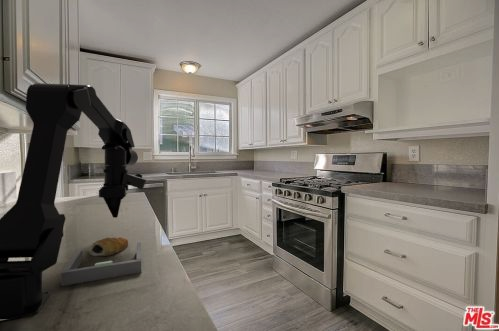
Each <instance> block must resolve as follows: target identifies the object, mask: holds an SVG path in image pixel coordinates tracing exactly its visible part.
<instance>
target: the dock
mask: <svg viewBox="0 0 499 331" xmlns="http://www.w3.org/2000/svg"><path fill="white" fill-rule="evenodd" d="M135 257H136V259H134V260H133V259H132V260H127V261H121V262H120V261H119V262H114V261H113V260H108V261H99V262H96V263H95V264H94V265H92V266H85V267H80V268H79V266H80V265H81V263H82V261H83V249H79V250H76V252H75V253H74V254H73V255H72V257H71V259H70V260H69V261H68V263H67V264H66V265H65V266H64V268H63V269H62V271H61V272H60V287H64V286H68V285H74V284H75V285H76V284H81V283H86V282H92V281H97V280H98V281H99V280H105V279H111V278H115V277H117V278H118V277H121V276H128V275H134V274H138V273H142V242H137V243H136V256H135Z"/></svg>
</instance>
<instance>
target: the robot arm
mask: <svg viewBox="0 0 499 331" xmlns="http://www.w3.org/2000/svg"><path fill="white" fill-rule="evenodd" d="M25 111H26V112H27V115H28V116H29V118H30V119H31V122H32V123H33V124H32V125H33V127H32V130H31V134H30V139H29V144H28V149H27V153H26V156H25V157H26V158H25V162H24V166H23V167H24V168H23V171H22V175H21V180H20V185H19V189H18V194H17V198H16V202H15V203H14V204H13V205H12V206H11V207H10V209H8V211H7V212H6V213H5V214H4V215H3V216H2V217H0V319H10V320H14V319H19V318H23V317H29V316H33V315H36V314H38V313H39V311H40V309H41V308H43V305H44V304H45V302H46V301H47V300H48V298H49V297H50V296H51V291H44V292H43V272H44V271H47V269H49V268H51V267H53V266H55V265H56V264H57V262H58V258H59V253H60V249H61V245H62V240H63V237H64V226H65V223H66V220H67V219H66V216H65V214H64V213H60V212H59V211H58V209H57V207H56V205H55V201H56V196H57V190H58V184H59V180H60V173H61V168H62V163H63V162H62V161H63V157H64V152H65V151H64V150H65V146H66V141H67V136H68V132H69V131H70V129H71V128H72V127H73V126H74V125H75V124H77V122H78V121H80V118H81V115H82V113H83V114H84V115H85V116H86V118H88V119H89V120H90V121H91V122H92V123H93V124H94V125H95V127H97V129H98V133H97V135H98V136H99V138H100V139H101V141H102V142H103V144H104V145H103V146H101V150H102V151H103V150H104V168H103V172H102V173H104V181H103V182H104V183H103V186H102V187H101V188H99V190H98V198H102V199H103V200H104V202H105V204H106V206H107V208H108V210H109V212H110V214H111V215H112V217H113V218H114V219H115V218H118V216H119V213H120V212H119V211H120V208H121V203H122V200H123V199H124V198H125V197H126V196H127V195H128V192H127V191H129V186H132V187H135V188H137V189H139V190H143V189H144V187H145V185H146V182H147V179H146V178H143V174H141V173H136V174H135V175H133V174H131V173H129V172H128V169H127V166H133V165H135V164H136V163H137V162H138V159H139V156H138V153H137V152H136V151H135V150H134V149H133V148H135V142H134V139H133V134H132V131H131V129H130V128H129V126H128V125H127V124H126V123H125V122H124V121H122V120H120V119H117V118H115V116H113V115H112V113H111V111H109V110H108V108H107V107H106V105H105V104H104V103H103V102H102V100H101V99H100V98H99V96H98V95H97V91H96V89H95V88H94V87H93V86H90V85H88V84H68V83H67V84H65V83H64V84H63V83H45V82H44V83H43V82H41V83H40V82H39V83H37V82H36V83H32V84H30V85H29V86H28V87H27V90H26V98H25ZM19 258H20V259H21V258H22V259H24V258H31V259H30V260H13V261H12V260H9V259H19Z"/></svg>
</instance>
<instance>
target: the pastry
mask: <svg viewBox="0 0 499 331" xmlns="http://www.w3.org/2000/svg"><path fill="white" fill-rule="evenodd" d="M128 247H129V240H128V239H127V238H123V237H106V238H102V239H99V240H96V241H94V242H93V243H92V245H91V246H90V247H89V249H88V253H89V254H90V256H93V257H109V256H113V255H114V254H116V253H120V252H121V251H123V250H125V249H126V248H128Z"/></svg>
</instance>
